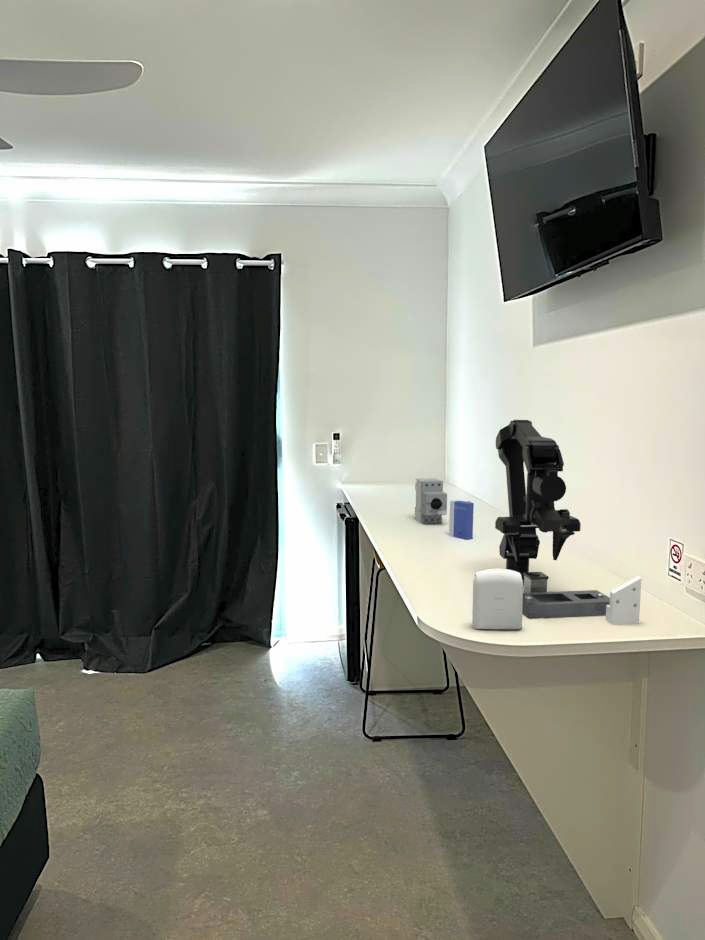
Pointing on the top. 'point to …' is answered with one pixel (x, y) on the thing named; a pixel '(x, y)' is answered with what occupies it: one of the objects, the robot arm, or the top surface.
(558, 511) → the robot arm
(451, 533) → the walkman
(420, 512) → the circuit breaker
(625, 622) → the white angled block
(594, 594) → the metal cover plate
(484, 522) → the top surface
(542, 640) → the top surface
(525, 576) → the drawer with knob
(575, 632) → the top surface
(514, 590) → the photo printer
